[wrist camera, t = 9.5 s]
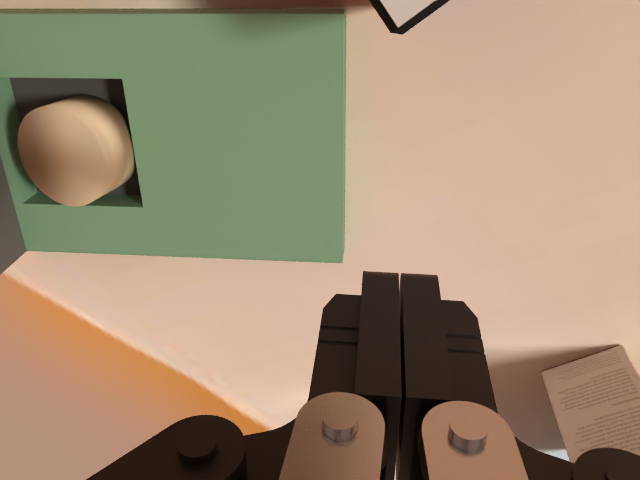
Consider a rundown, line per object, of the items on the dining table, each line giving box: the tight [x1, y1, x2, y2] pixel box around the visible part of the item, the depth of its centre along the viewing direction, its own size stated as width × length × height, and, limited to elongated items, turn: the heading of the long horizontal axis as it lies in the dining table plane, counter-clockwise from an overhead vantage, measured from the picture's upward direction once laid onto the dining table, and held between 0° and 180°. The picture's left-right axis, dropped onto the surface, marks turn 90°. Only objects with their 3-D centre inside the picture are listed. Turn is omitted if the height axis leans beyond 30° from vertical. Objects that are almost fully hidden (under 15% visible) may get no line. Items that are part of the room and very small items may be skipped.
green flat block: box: [0, 9, 346, 274], centre depth 33 cm, size 14×21×5 cm, turn 91°
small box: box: [541, 345, 640, 463], centre depth 36 cm, size 8×6×10 cm
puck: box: [18, 94, 136, 207], centre depth 34 cm, size 6×6×3 cm
